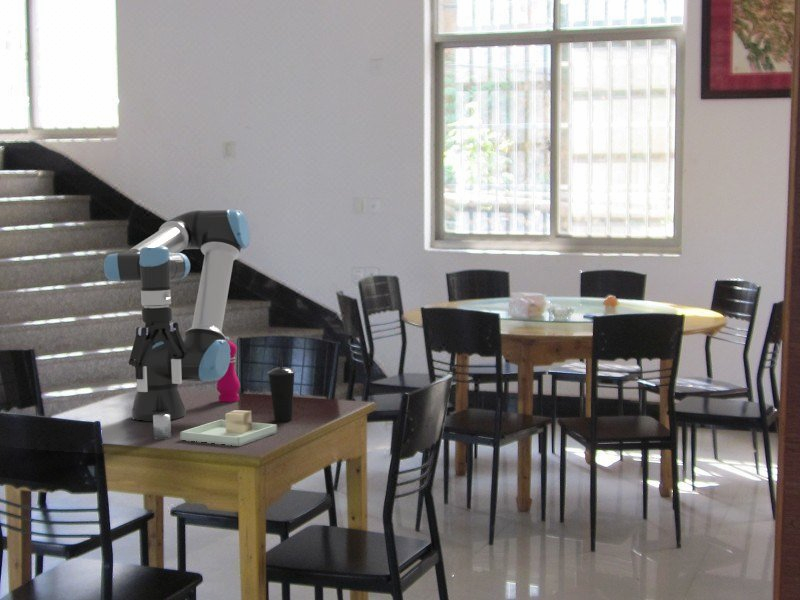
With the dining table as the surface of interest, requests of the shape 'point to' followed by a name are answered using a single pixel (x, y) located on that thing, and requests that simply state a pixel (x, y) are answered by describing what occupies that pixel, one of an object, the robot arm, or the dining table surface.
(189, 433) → the tray
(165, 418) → the cylinder
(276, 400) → the drinking cup
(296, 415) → the dining table surface
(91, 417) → the dining table surface
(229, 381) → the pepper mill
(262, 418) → the dining table surface
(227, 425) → the beech block
